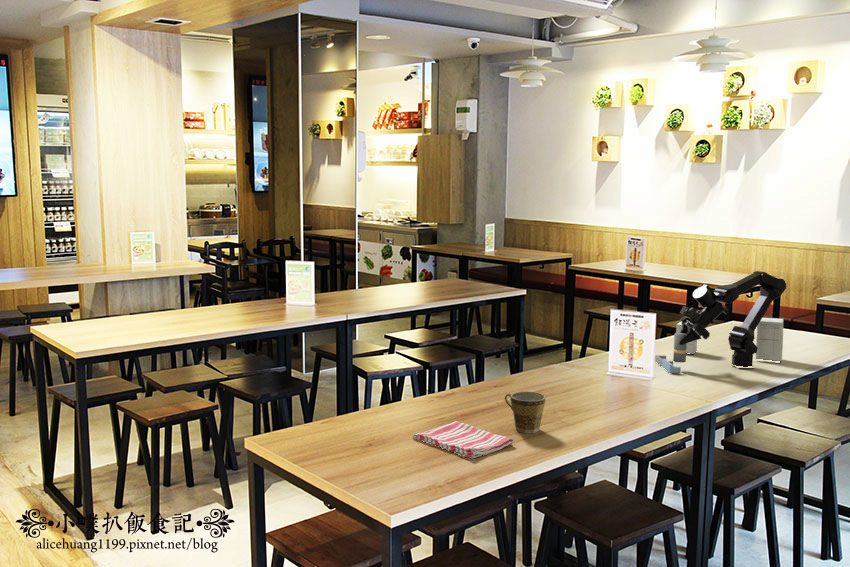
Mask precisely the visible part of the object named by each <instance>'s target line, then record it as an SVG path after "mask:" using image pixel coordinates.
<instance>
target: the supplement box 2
mask: <svg viewBox="0 0 850 567" xmlns="http://www.w3.org/2000/svg"><path fill="white" fill-rule="evenodd" d="M755 339H756V340H755V341H756V343H755V345H756V346H757V348H758V349H757V352H756V353H755V360H756V359H763V360H772V361H781V362H782V360H783V347H784V345H783V344H784V318H776V317H762V319H761V321H760V322H759V324H758V326H757V327H756V338H755ZM781 359H782V360H781Z"/></svg>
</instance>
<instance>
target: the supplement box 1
mask: <svg viewBox="0 0 850 567" xmlns="http://www.w3.org/2000/svg"><path fill="white" fill-rule="evenodd" d="M681 329H682V322H681V321H679V322H678V323H676V329H675V330H676V331H675V333H680V331H681ZM686 350H687V352H686V353H690V354H693V353H695V352H696V351H697V352H698V340H695V341H692V342H689V343H687V345H686ZM697 352H696V353H697ZM696 353H695V354H696Z"/></svg>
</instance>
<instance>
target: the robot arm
mask: <svg viewBox="0 0 850 567" xmlns="http://www.w3.org/2000/svg"><path fill="white" fill-rule="evenodd" d="M757 286H760V287H759V290H760V291H759V292H760V293H759V294H760V295H759V297H758V298H757V300H756V301H755V302H754V304H753V306H752V307H751V309H750V311H749V313H748V314H747V315H746V317H745V319H744V321H743V322H742V324H741V325H739V326H738V325H734V326H733V327H732V330H731V331H730V333H729V334H728V335H729V336H728V338H727V339H728V344H729V348H730V350H731V351H733V354H732V356H731V364H733V365H736V366H743V367H748V366H752V367H753V362H754V360H753V358H754V355H755V354H756V352H757V349H758V348H757V346H756V343H754V340H755V339H756V338H755V330H757V326H758V324H759V322H760V321H761V319H762V318H764V315H765V314H766V312H767V311H768V309H769V307H770V306H771V304H772V302H773V301H775V300H777V299H778V298H779V297H781V296H782V295H783V293H784V292H785V290H786V289H787V283H786V280H785V279H784V278H779V277H777V276H774V275H771V274H769V273H768V272H766V271H761V270H756V271H753V272H752V273H751V274H749V275H746V276H745V277H743V278H741V279H739V280H738V281H737V280H736V281H735V282H733V283H730V284H723V285H720V286H717V287H716V288H714V290H712V289H711V287H710V285H709V284H705V283H704V284H703V285H702V286H699V287H697V288H696V289H694V291H693V292H692V297H693V298H694V299H695V301H697V303H698V304H699V305H700V306H701V307H702V309H696V308H694V307H690V308H689V307H688V306H687V307H686V306H685V305H682V308H681V309H680V312H679V314H680V315H682V317H681V318H680V319H679V321H680V322H682V329H681V331H680V333H685V334H686V335H685V336H684V337H683V338H682V340H681V341H680V342H679V344H680V345H683V344H686V343H689V342H692V341H695V340H697V341H698V340H702V338H703V339H704V340H708V338H710V333H711V332H710V331H708V329H707V327H708V326H710V324H711V325H713V324H714V323H715V322H714V320H716V319H717V318H718V317H719V316H720V315H721V314H722V313H724V314H725V315H729V307H728V306H727V305H724V304H728V305H730V304H732V303H734V302H736V301H737V300H738V299H739V298H740V295H741V294H743V293H745V292H747V291H748V290H751V289H753V288H755V287H757ZM723 303H724V304H723Z"/></svg>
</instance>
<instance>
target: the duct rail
mask: <svg viewBox="0 0 850 567" xmlns="http://www.w3.org/2000/svg"><path fill="white" fill-rule="evenodd" d="M654 358H655V359H654V362H655V363H656V362H657V363H658V364H657V363H656V364H657V365H659V364H660V365H661V366H662V367H663V368H665V369H666V370H667V371H668V372H669V373H681V374H682V372H681V371H682V369H681V368H682V367H681V366H674V361H673V360H667V355H659V354H657V355H655V356H654ZM660 365H659V366H660ZM661 366H660V367H661ZM662 367H661V368H662ZM663 368H662V369H663ZM665 369H664V370H665ZM666 370H665V371H666ZM667 371H666V372H667ZM668 372H667V373H668ZM669 373H668V374H669Z"/></svg>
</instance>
